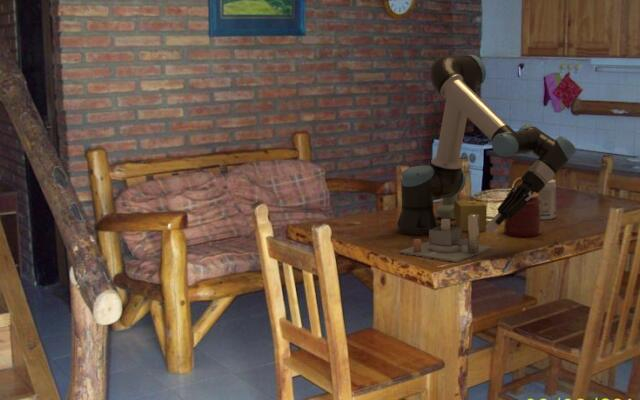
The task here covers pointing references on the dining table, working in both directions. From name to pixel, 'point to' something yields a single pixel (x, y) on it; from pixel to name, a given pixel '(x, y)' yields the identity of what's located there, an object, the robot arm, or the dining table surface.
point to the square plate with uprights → (442, 248)
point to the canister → (525, 219)
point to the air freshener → (447, 208)
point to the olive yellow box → (466, 208)
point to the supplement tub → (548, 200)
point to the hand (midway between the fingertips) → (488, 230)
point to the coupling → (458, 235)
